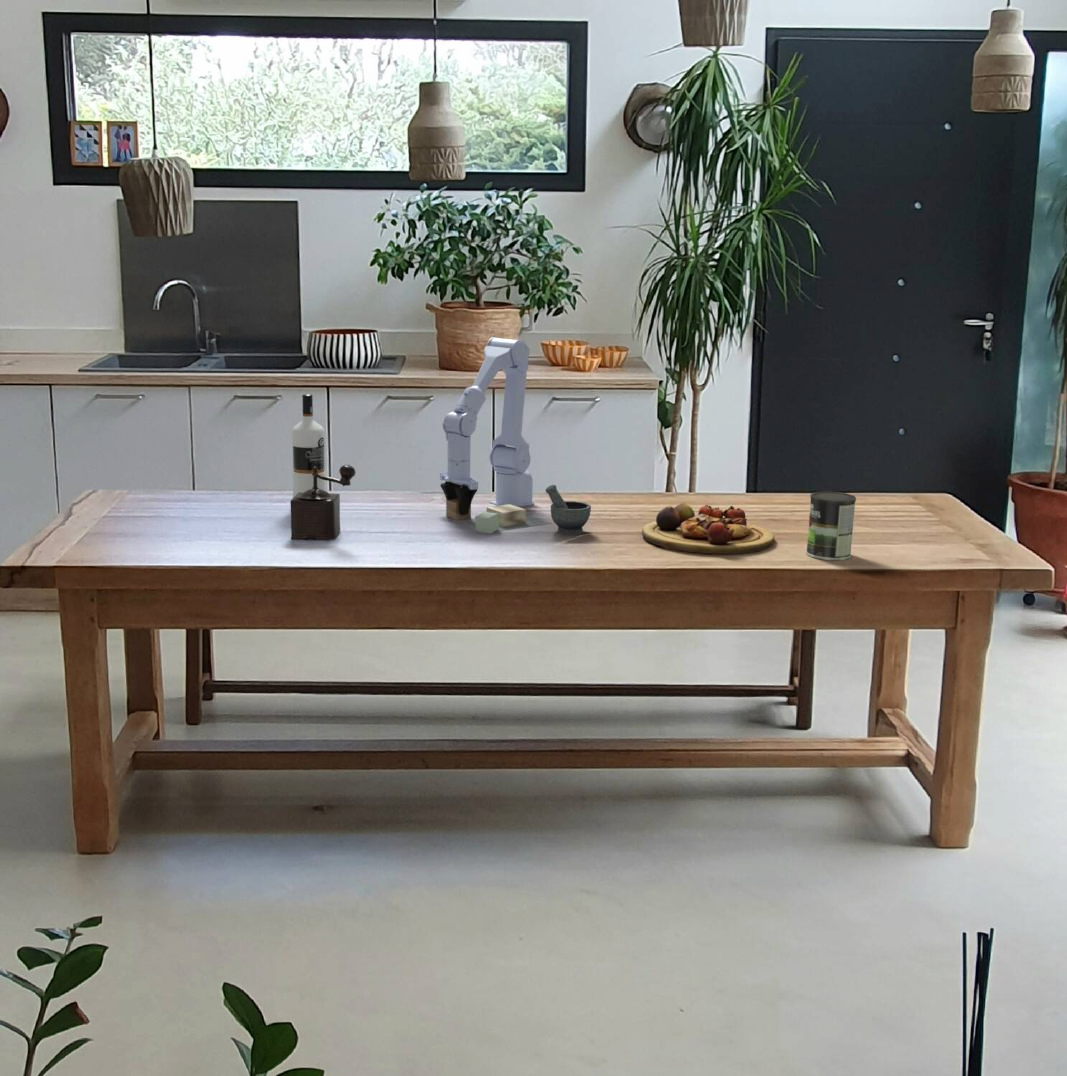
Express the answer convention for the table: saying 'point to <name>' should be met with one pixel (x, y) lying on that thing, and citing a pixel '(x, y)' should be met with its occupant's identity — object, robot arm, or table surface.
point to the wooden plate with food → (706, 531)
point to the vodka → (307, 450)
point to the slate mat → (529, 523)
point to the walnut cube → (455, 510)
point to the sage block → (487, 522)
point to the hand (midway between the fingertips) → (458, 512)
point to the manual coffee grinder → (318, 509)
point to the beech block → (509, 514)
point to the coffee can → (830, 525)
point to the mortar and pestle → (568, 513)
